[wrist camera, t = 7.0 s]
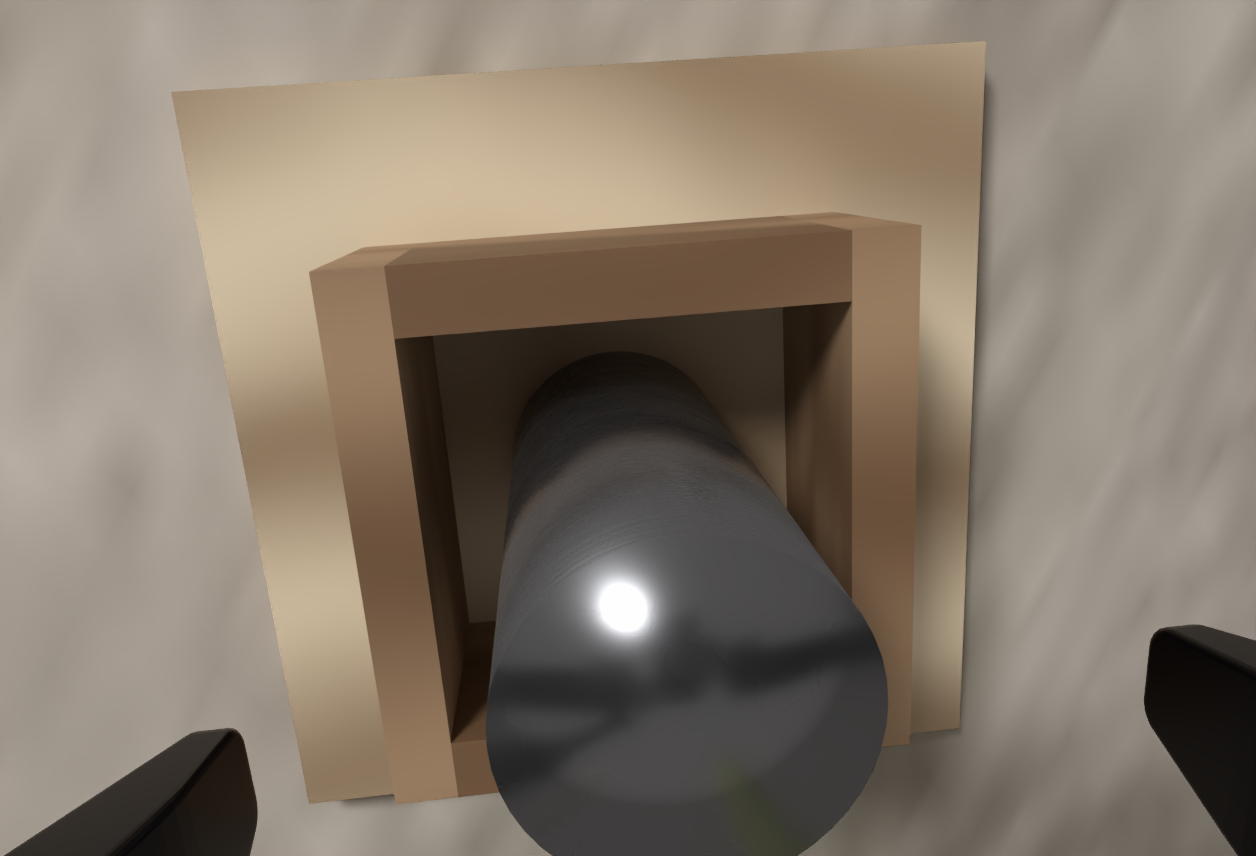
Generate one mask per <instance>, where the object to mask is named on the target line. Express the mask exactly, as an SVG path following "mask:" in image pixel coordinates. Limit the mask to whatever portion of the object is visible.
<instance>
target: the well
mask: <svg viewBox="0 0 1256 856" xmlns="http://www.w3.org/2000/svg"><path fill="white" fill-rule="evenodd" d="M985 54H986V41H980V42H964V43H948V44H932V45H916V46H900V47H884V48H868V49H852V50H836V51H820V52H804V53H788V54H772V55H756V56H740V57H724V58H708V59H692V60H676V61H660V62H644V63H628V64H612V65H596V66H580V67H564V68H548V69H532V70H516V71H500V72H484V73H468V74H452V75H436V76H420V77H404V78H388V79H372V80H356V81H340V82H324V83H308V84H292V85H276V86H260V87H244V88H228V89H212V90H196V91H180V92H171V93H172V98H173V103H174V108H175V114H176V119H177V124H178V129H179V134H180V139H181V145H182V150H183V155H184V160H185V165H186V170H187V176H188V181H189V186H190V191H191V196H192V201H193V206H194V212H195V217H196V222H197V227H198V232H199V237H200V243H201V248H202V253H203V258H204V263H205V268H206V274H207V279H208V284H209V289H210V294H211V299H212V304H213V310H214V315H215V320H216V325H217V330H218V335H219V341H220V346H221V351H222V356H223V361H224V366H225V371H226V377H227V382H228V387H229V392H230V397H231V402H232V408H233V413H234V418H235V423H236V428H237V433H238V439H239V444H240V449H241V454H242V459H243V464H244V469H245V475H246V480H247V485H248V490H249V495H250V500H251V506H252V511H253V516H254V521H255V526H256V531H257V536H258V542H259V547H260V552H261V557H262V562H263V567H264V573H265V578H266V583H267V588H268V593H269V598H270V604H271V609H272V614H273V619H274V624H275V629H276V634H277V640H278V645H279V650H280V655H281V660H282V665H283V671H284V676H285V681H286V686H287V691H288V696H289V701H290V707H291V712H292V717H293V722H294V727H295V732H296V738H297V743H298V748H299V753H300V758H301V763H302V769H303V774H304V779H305V784H306V789H307V794H308V799H309V804H311V803H320V802H329V801H337V800H346V799H354V798H363V797H372V796H380V795H389V794H394V798H395V804H403V803H411V802H420V801H428V800H437V799H446V798H454V797H463V796H471V795H480V794H488V793H497V792H499V790H498V787H497V784H496V782H495V779H494V776H493V774H492V771H491V766H490V762H489V757H488V752H487V744H486V725H485V724H486V714H487V704H488V694H489V684H490V675H491V665H492V655H493V646H494V636H495V626H496V617H497V607H498V597H499V587H500V578H501V568H502V558H503V549H504V539H505V529H506V520H507V510H508V500H509V490H510V481H511V471H512V461H513V452H514V442H515V435H516V431H517V427H518V423H519V420H520V418H521V415H522V413H523V411H524V409H525V407H526V405H527V403H528V402H529V400H530V398H531V397H532V396H533V394H534V393H535V392H536V390H537V389H538V388H539V387H540V386H541V385H542V384H543V383H544V382H545V381H546V380H547V379H548V378H549V377H550V376H552V375H553V374H554V373H555V372H557V371H558V370H560V369H561V368H563V367H565V366H566V365H568V364H570V363H572V362H574V361H576V360H579V359H581V358H583V357H587V356H590V355H594V354H597V353H604V352H611V351H627V352H636V353H642V354H646V355H650V356H653V357H656V358H658V359H661V360H663V361H666V362H667V363H669V364H671V365H673V366H675V367H676V368H678V369H679V370H680V371H682V372H683V373H685V374H686V375H687V376H688V377H689V378H690V379H691V380H692V381H693V382H694V383H695V384H696V385H697V386H698V387H699V388H700V390H701V391H702V392H703V394H704V395H705V396H706V398H707V399H708V400H709V402H710V403H711V405H712V406H713V407H714V409H715V410H716V411H717V413H718V414H719V416H720V417H721V418H722V420H723V421H724V423H725V424H726V425H727V427H728V428H729V430H730V431H731V432H732V434H733V435H734V437H735V438H736V439H737V441H738V442H739V444H740V445H741V446H742V448H743V449H744V451H745V452H746V453H747V455H748V456H749V457H750V459H751V460H752V462H753V463H754V464H755V466H756V467H757V469H758V470H759V471H760V473H761V474H762V476H763V477H764V478H765V480H766V481H767V483H768V484H769V485H770V487H771V488H772V490H773V491H774V492H775V494H776V495H777V497H778V498H779V499H780V501H781V502H782V503H783V505H784V506H785V508H786V509H787V510H788V512H789V513H790V515H791V516H792V517H793V519H794V520H795V522H796V523H797V524H798V526H799V527H800V529H801V530H802V531H803V533H804V534H805V536H806V537H807V538H808V540H809V541H810V543H811V544H812V545H813V547H814V548H815V549H816V551H817V552H818V554H819V555H820V556H821V558H822V559H823V561H824V562H825V563H826V565H827V566H828V568H829V569H830V570H831V572H832V573H833V575H834V576H835V577H836V579H837V580H838V582H839V583H840V584H841V586H842V587H843V589H844V590H845V591H846V593H847V594H848V595H849V597H850V598H851V600H852V601H853V602H854V604H855V605H856V607H857V608H858V609H859V611H860V612H861V614H862V615H863V617H864V619H865V620H866V622H867V624H868V626H869V627H870V629H871V631H872V633H873V635H874V637H875V639H876V642H877V645H878V647H879V650H880V653H881V655H882V658H883V663H884V668H885V672H886V677H887V687H888V714H887V726H886V730H885V734H884V739H883V743H882V747H890V746H899V745H907V744H910V737H911V734H914V733H922V732H931V731H940V730H948V729H957V728H960V702H961V676H962V650H963V624H964V598H965V572H966V546H967V521H968V495H969V469H970V443H971V417H972V391H973V365H974V339H975V313H976V287H977V261H978V236H979V210H980V184H981V158H982V132H983V106H984V80H985Z"/></svg>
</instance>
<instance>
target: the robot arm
mask: <svg viewBox="0 0 1256 856" xmlns="http://www.w3.org/2000/svg"><path fill="white" fill-rule="evenodd" d="M1144 706H1145V712H1146V715H1147V718H1148V721H1149V723H1150V725H1151V727H1152V729H1153V730H1154V732H1155V733H1156V735H1157V736H1158V738H1159V739H1160V741H1161V742H1162V744H1163V745H1164V747H1165V748H1166V750H1167V751H1168V753H1169V754H1170V756H1171V757H1172V759H1173V760H1174V762H1175V763H1176V765H1177V766H1178V768H1179V769H1180V771H1181V772H1182V774H1183V775H1184V777H1185V778H1186V780H1187V781H1188V783H1189V784H1190V786H1191V787H1192V789H1193V790H1194V792H1195V793H1196V795H1197V796H1198V798H1199V799H1200V801H1201V802H1202V804H1203V805H1204V807H1205V808H1206V810H1207V811H1208V813H1209V814H1210V816H1211V817H1212V819H1213V820H1214V822H1215V823H1216V825H1217V826H1218V828H1219V829H1220V831H1221V832H1222V834H1223V835H1224V837H1225V838H1226V839H1227V841H1228V842H1229V844H1230V845H1231V847H1232V848H1233V849H1234V851H1235V852H1236V854H1237V855H1238V856H1256V641H1255V640H1252V639H1248V638H1245V637H1241V636H1238V635H1234V634H1231V633H1228V632H1224V631H1221V630H1217V629H1214V628H1210V627H1207V626H1203V625H1183V626H1174V627H1166V628H1161V629H1159V630H1158V631H1156V632H1155V633H1154V634H1153V636H1152V638H1151V641H1150V646H1149V656H1148V665H1147V675H1146V684H1145V694H1144ZM257 814H258V810H257V800H256V795H255V790H254V786H253V781H252V776H251V771H250V767H249V762H248V757H247V753H246V748H245V744H244V740H243V738H242V736H241V734H240V733H239V732H238V731H237V730H235V729H233V728H225V729H216V730H207V731H197V732H194V733H191V734H189V735H187V736H186V737H184V738H183V739H181V740H179V741H178V742H176V743H175V744H173V745H172V746H170V747H169V748H167V749H166V750H164V751H163V752H161V753H160V754H158V755H157V756H155V757H154V758H152V759H151V760H149V761H148V762H146V763H144V764H143V765H141V766H140V767H138V768H137V769H135V770H134V771H132V772H131V773H129V774H128V775H126V776H125V777H123V778H122V779H120V780H119V781H117V782H116V783H114V784H112V785H111V786H109V787H108V788H106V789H105V790H103V791H102V792H100V793H99V794H97V795H96V796H94V797H93V798H91V799H90V800H88V801H87V802H85V803H84V804H82V805H80V806H79V807H77V808H76V809H74V810H73V811H71V812H70V813H68V814H67V815H65V816H64V817H62V818H61V819H59V820H58V821H56V822H55V823H53V824H52V825H50V826H49V827H47V828H45V829H44V830H42V831H41V832H39V833H38V834H36V835H35V836H33V837H32V838H30V839H29V840H27V841H26V842H24V843H23V844H21V845H20V846H18V847H17V848H15V849H13V850H12V851H10V852H9V853H7V854H6V855H4V856H250V853H251V848H252V844H253V840H254V836H255V832H256V826H257Z"/></svg>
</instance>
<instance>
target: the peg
mask: <svg viewBox="0 0 1256 856" xmlns="http://www.w3.org/2000/svg"><path fill="white" fill-rule="evenodd" d="M887 714H888V687H887V677H886V672H885V668H884V663H883V658H882V655H881V653H880V650H879V647H878V645H877V642H876V639H875V637H874V635H873V633H872V631H871V629H870V627H869V626H868V624H867V622H866V620H865V619H864V617H863V615H862V614H861V612H860V611H859V609H858V608H857V607H856V605H855V604H854V602H853V601H852V600H851V598H850V597H849V595H848V594H847V593H846V591H845V590H844V589H843V587H842V586H841V584H840V583H839V582H838V580H837V579H836V577H835V576H834V575H833V573H832V572H831V570H830V569H829V568H828V566H827V565H826V563H825V562H824V561H823V559H822V558H821V556H820V555H819V554H818V552H817V551H816V549H815V548H814V547H813V545H812V544H811V543H810V541H809V540H808V538H807V537H806V536H805V534H804V533H803V531H802V530H801V529H800V527H799V526H798V524H797V523H796V522H795V520H794V519H793V517H792V516H791V515H790V513H789V512H788V510H787V509H786V508H785V506H784V505H783V503H782V502H781V501H780V499H779V498H778V497H777V495H776V494H775V492H774V491H773V490H772V488H771V487H770V485H769V484H768V483H767V481H766V480H765V478H764V477H763V476H762V474H761V473H760V471H759V470H758V469H757V467H756V466H755V464H754V463H753V462H752V460H751V459H750V457H749V456H748V455H747V453H746V452H745V451H744V449H743V448H742V446H741V445H740V444H739V442H738V441H737V439H736V438H735V437H734V435H733V434H732V432H731V431H730V430H729V428H728V427H727V425H726V424H725V423H724V421H723V420H722V418H721V417H720V416H719V414H718V413H717V411H716V410H715V409H714V407H713V406H712V405H711V403H710V402H709V400H708V399H707V398H706V396H705V395H704V394H703V392H702V391H701V390H700V388H699V387H698V386H697V385H696V384H695V383H694V382H693V381H692V380H691V379H690V378H689V377H688V376H687V375H686V374H685V373H683V372H682V371H680V370H679V369H678V368H676V367H675V366H673V365H671V364H669V363H667V362H666V361H663V360H661V359H658V358H656V357H653V356H650V355H646V354H642V353H636V352H627V351H611V352H604V353H597V354H594V355H590V356H587V357H583V358H581V359H579V360H576V361H574V362H572V363H570V364H568V365H566V366H565V367H563V368H561V369H560V370H558V371H557V372H555V373H554V374H553V375H552V376H550V377H549V378H548V379H547V380H546V381H545V382H544V383H543V384H542V385H541V386H540V387H539V388H538V389H537V390H536V392H535V393H534V394H533V396H532V397H531V398H530V400H529V402H528V403H527V405H526V407H525V409H524V411H523V413H522V415H521V418H520V420H519V423H518V427H517V431H516V435H515V442H514V452H513V461H512V471H511V481H510V490H509V500H508V510H507V520H506V529H505V539H504V549H503V558H502V568H501V578H500V587H499V597H498V607H497V617H496V626H495V636H494V646H493V655H492V665H491V675H490V684H489V694H488V704H487V714H486V724H485V725H486V744H487V752H488V757H489V762H490V766H491V771H492V774H493V776H494V779H495V782H496V784H497V787H498V790H499V792H500V794H501V796H502V798H503V800H504V802H505V803H506V805H507V807H508V809H509V811H510V812H511V814H512V815H513V816H514V818H515V819H516V820H517V822H518V823H519V824H520V826H521V827H522V828H523V829H524V831H525V832H526V833H527V834H528V835H529V836H530V837H531V838H532V839H533V840H534V841H535V842H536V843H537V844H538V845H539V846H540V847H542V848H543V849H544V850H546V851H547V852H548V853H550V854H551V855H552V856H797V855H799V854H800V853H802V852H803V851H805V850H806V849H808V848H809V847H810V846H812V845H813V844H814V843H816V842H817V841H818V840H819V839H820V838H821V837H822V836H824V835H825V834H826V833H827V832H828V831H829V830H830V829H832V828H833V826H834V825H835V824H836V823H837V822H838V821H839V820H840V819H841V818H842V817H843V815H844V814H845V813H846V812H847V811H848V810H849V808H850V807H851V806H852V804H853V803H854V801H855V800H856V798H857V797H858V796H859V794H860V793H861V791H862V790H863V788H864V786H865V784H866V782H867V780H868V779H869V777H870V775H871V773H872V771H873V769H874V766H875V764H876V761H877V758H878V756H879V753H880V750H881V747H882V743H883V739H884V734H885V730H886V726H887Z"/></svg>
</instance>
